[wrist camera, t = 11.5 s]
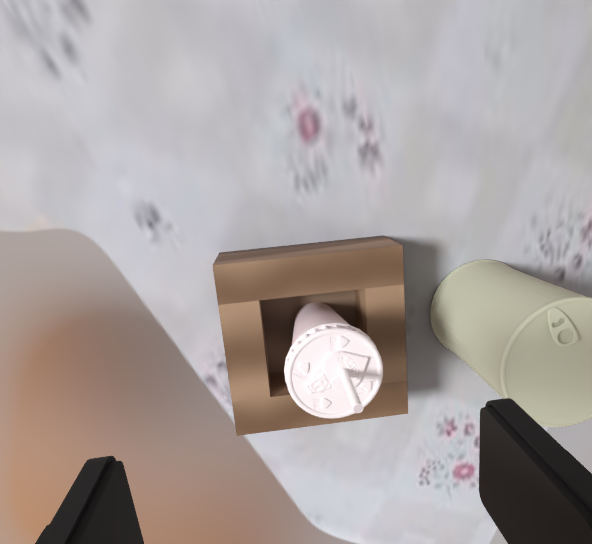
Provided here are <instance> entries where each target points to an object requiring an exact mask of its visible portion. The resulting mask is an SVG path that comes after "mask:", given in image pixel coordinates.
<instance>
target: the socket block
mask: <svg viewBox="0 0 592 544" xmlns="http://www.w3.org/2000/svg"><path fill="white" fill-rule="evenodd" d="M213 271H214V278H215V285H216V292H217V299H218V306H219V313H220V320H221V327H222V334H223V341H224V348H225V355H226V362H227V369H228V376H229V383H230V391H231V398H232V405H233V412H234V419H235V426H236V433H237V436H238V435H246V434H253V433H261V432H269V431H276V430H284V429H292V428H300V427H307V426H315V425H323V424H330V423H338V422H346V421H354V420H361V419H369V418H377V417H384V416H392V415H400V414H408V396H407V363H406V331H405V299H404V267H403V245H401V244H399V243H397V242H395V241H393V240H391V239H389V238H387V237H385V236H376V237H366V238H356V239H347V240H337V241H328V242H318V243H308V244H299V245H289V246H280V247H270V248H260V249H251V250H241V251H232V252H222V253H219V255H218V257H217V258H216V260H215V262H214V264H213ZM313 302H321V303H324V304H327V305H328V306H330V307H331V308H332V309H333V310H334V311H335V312H336V313H337V314H338V315H340V316H341V317H342V318H343V319H344V320H345V321H346V322H347V323H348V324H349V325H351V326H353V327H355V328H358V329H360V330H361V331H362V332H364V333H365V334H366V335H368V336H369V337H370V339H371V340H372V341H373V343H374V344H375V345H376V348H377V350H378V352H379V354H380V356H381V359H382V364H383V378H382V382H381V385H380V388H379V390H378V392H377V394H376V395H375V397H374V398H373V399H372V400H371V402H370V403H369V404H368V405H366V406H365V407H364V408H363V411H362V412H361V413H354V414H352V415H349V416H346V417H341V418H322V417H318V416H314V415H312V414H310V413H308V412H306V411H305V410H303V409H302V408H301V407H299V406H298V405H297V404H296V402H295V401H294V400H293V398H292V397H291V395H290V393H289V390H288V387H287V384H286V381H285V373H284V367H285V361H286V357H287V354H288V352H289V350H290V348H291V346H292V339H293V331H294V323H295V318H296V315H297V313H298V311H299V310H300V309H301V308H302V307H303V306H305V305H307V304H309V303H313Z"/></svg>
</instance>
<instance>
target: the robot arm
mask: <svg viewBox="0 0 592 544" xmlns="http://www.w3.org/2000/svg"><path fill="white" fill-rule="evenodd" d="M479 493H480V497H481V501H482V503H483V505H484V507H485V508H486V510H487V512H488V513H489V515H490V516H491V518H492V519H493V521H494V522H495V524H496V526H497V527H498V529H499V530H500V532H501V533H502V534H503V536H504V538H505V539H506V541H507V543H508V544H592V474H591V473H590V472H589V471H588V470H587V469H586V468H585V467H584V466H583V465H582V464H580V462H578V461H577V460H576V459H575V458H574V457H573V456H572V455H571V454H570V453H569V452H568V451H567V450H565V449H564V448H563V447H562V446H561V445H560V444H559V443H558V442H557V441H556V440H555V439H553V438H552V437H551V436H550V435H549V434H548V433H547V432H546V431H545V430H544V429H543V428H542V427H541V426H540V425H539V424H538V423H537V422H536V421H535V420H534V419H533V418H532V417H530V416H529V415H528V414H527V413H526V412H525V411H524V410H523V409H522V408H521V407H520V406H519V405H518V404H517V403H516V402H515V401H514V400H512V399H511V398H505V399H498V400H491V401H488V402H487V403H486V406H485V407H484V408H481V410H480V463H479ZM35 544H144V541H143V538H142V534H141V530H140V527H139V522H138V518H137V515H136V511H135V507H134V503H133V500H132V496H131V492H130V488H129V484H128V481H127V477H126V473H125V470H124V465H123V463H122V462H121V461H116V460H115V458H114V457H113V456H107V457H100V458H93V459H89V460H87V462H86V463H85V464H84V466H83V468H82V470H81V471H80V473H79V475H78V477H77V478H76V480H75V482H74V483H73V485H72V487H71V489H70V490H69V492H68V494H67V496H66V497H65V499H64V501H63V502H62V504H61V506H60V508H59V509H58V511H57V513H56V515H55V516H54V518H53V520H52V522H51V523H50V524H49V525H47V526H46V528H45V529H44V530H43V532H42V533H41V535H40V536H39V538H38V540H37V542H36V543H35Z"/></svg>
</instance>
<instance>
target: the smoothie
mask: <svg viewBox="0 0 592 544" xmlns="http://www.w3.org/2000/svg"><path fill="white" fill-rule="evenodd" d="M284 373H285V381H286V384H287V387H288V390H289V393H290V395H291V397H292V398H293V400H294V401H295V402H296V404H297V405H298V406H299V407H301V408H302V409H303V410H305V411H306V412H308V413H310V414H312V415H314V416H318V417H322V418H341V417H346V416H349V415H352V414H354V413H361V412H362V411H363V408H364V407H365V406H366V405H368V404H369V403H370V402H371V400H372V399H373V398H374V397H375V395H376V394H377V392H378V390H379V388H380V385H381V382H382V378H383V364H382V359H381V356H380V354H379V352H378V350H377V348H376V345H375V344H374V343H373V341H372V340H371V339H370V337H369V336H368V335H366V334H365V333H364V332H362V331H361V330H360V329H358V328H355V327H353V326H351V325H349V324H348V323H347V322H346V321H345V320H344V319H343V318H342V317H341V316H340V315H338V314H337V313H336V312H335V311H334V310H333V309H332V308H331V307H330V306H328V305H327V304H324V303H321V302H313V303H309V304H307V305H305V306H303V307H302V308H301V309H300V310H299V311H298V313H297V315H296V318H295V323H294V331H293V339H292V346H291V348H290V350H289V352H288V354H287V357H286V361H285V367H284Z"/></svg>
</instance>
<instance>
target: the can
mask: <svg viewBox="0 0 592 544" xmlns="http://www.w3.org/2000/svg"><path fill="white" fill-rule="evenodd" d="M430 320H431V325H432V328H433V331H434V333H435V335H436V337H437V339H438V340H439V341H440V342H441V344H442V345H443V346H445V347H446V348H447V349H448V350H450V351H452V352H454V353H455V354H456V355H457V356H458V357H459V358H460V359H462V360H463V361H464V362H465V363H466V364H467V365H468V366H469V367H470V368H471V369H472V370H473V371H475V372H476V373H477V374H478V375H479V376H480V377H481V378H482V379H483V380H484V381H485V382H486V383H487V384H488V385H489V386H491V387H492V388H493V389H494V390H495V391H496V392H497V393H498V394H499V395H500V396H501V397H502V398H503V399H505V398H511V399H512V400H514V401H515V402H516V403H517V404H518V405H519V406H520V407H521V408H522V409H523V410H524V411H525V412H526V413H527V414H528V415H529V416H530V417H532V418H533V419H534V420H535V421H536V422H537V423H538V424H539V425H541V426H546V427H566V426H571V425H574V424H578V423H581V422H584V421H586V420H588V419H590V418H592V297H587V296H584V295H581V294H579V293H576V292H573V291H570V290H568V289H565V288H562V287H559V286H557V285H554V284H551V283H548V282H546V281H543V280H540V279H538V278H535V277H533V276H530V275H527V274H525V273H522V272H520V271H517V270H515V269H513V268H511V267H510V266H508V265H506V264H504V263H502V262H499V261H494V260H477V261H472V262H469V263H466V264H464V265H462V266H460V267H458V268H457V269H455V270H454V271H452V272H451V273H450V274H449V275H447V276H446V278H445V279H444V280H443V281H442V282H441V283H440V285H439V286H438V288H437V290H436V292H435V294H434V297H433V299H432V303H431V309H430Z"/></svg>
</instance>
